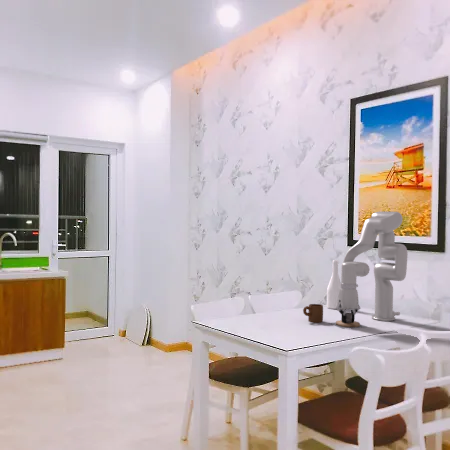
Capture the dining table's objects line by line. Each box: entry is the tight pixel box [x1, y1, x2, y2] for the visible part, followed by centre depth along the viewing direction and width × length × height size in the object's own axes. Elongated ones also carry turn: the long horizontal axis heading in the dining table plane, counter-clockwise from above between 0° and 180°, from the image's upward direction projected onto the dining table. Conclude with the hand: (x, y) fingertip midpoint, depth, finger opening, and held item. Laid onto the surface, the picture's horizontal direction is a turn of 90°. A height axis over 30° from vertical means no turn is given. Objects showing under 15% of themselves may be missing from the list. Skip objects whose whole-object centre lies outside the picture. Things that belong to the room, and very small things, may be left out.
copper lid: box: [335, 311, 361, 327], centre depth 256 cm, size 12×12×6 cm
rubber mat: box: [328, 322, 368, 330], centre depth 256 cm, size 15×14×1 cm
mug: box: [302, 303, 324, 324], centre depth 263 cm, size 12×8×9 cm, turn 119°
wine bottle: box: [326, 259, 341, 310], centre depth 311 cm, size 10×10×30 cm
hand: (347, 322), depth 256 cm, fingers closed on copper lid, 4 cm apart
